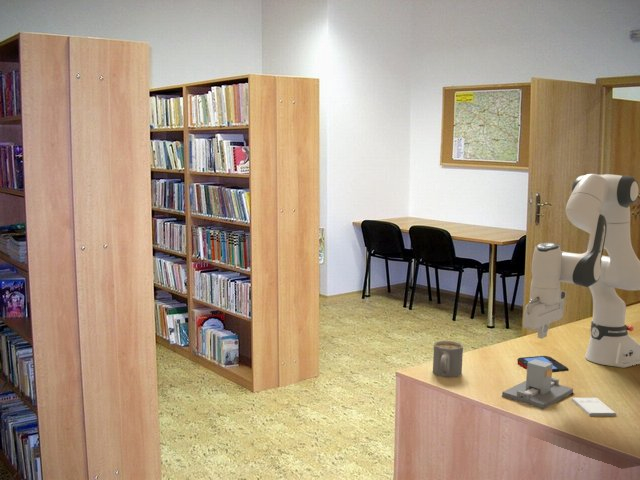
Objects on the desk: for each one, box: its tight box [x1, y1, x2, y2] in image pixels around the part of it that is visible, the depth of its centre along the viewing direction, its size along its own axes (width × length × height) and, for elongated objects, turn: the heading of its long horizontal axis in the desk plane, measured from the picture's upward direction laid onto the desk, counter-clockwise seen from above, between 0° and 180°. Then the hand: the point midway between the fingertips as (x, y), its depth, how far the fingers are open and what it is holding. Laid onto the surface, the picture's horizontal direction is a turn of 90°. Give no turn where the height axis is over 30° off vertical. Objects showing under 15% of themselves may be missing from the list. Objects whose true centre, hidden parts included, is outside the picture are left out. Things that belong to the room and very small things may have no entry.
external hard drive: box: [571, 397, 617, 417], centre depth 208 cm, size 2×8×12 cm
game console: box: [516, 355, 569, 373], centre depth 245 cm, size 14×13×2 cm
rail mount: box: [501, 377, 574, 410], centre depth 218 cm, size 20×14×3 cm
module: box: [525, 359, 553, 394], centre depth 217 cm, size 5×6×9 cm
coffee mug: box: [432, 340, 464, 378], centre depth 235 cm, size 13×10×10 cm
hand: (542, 337), depth 215 cm, fingers closed
